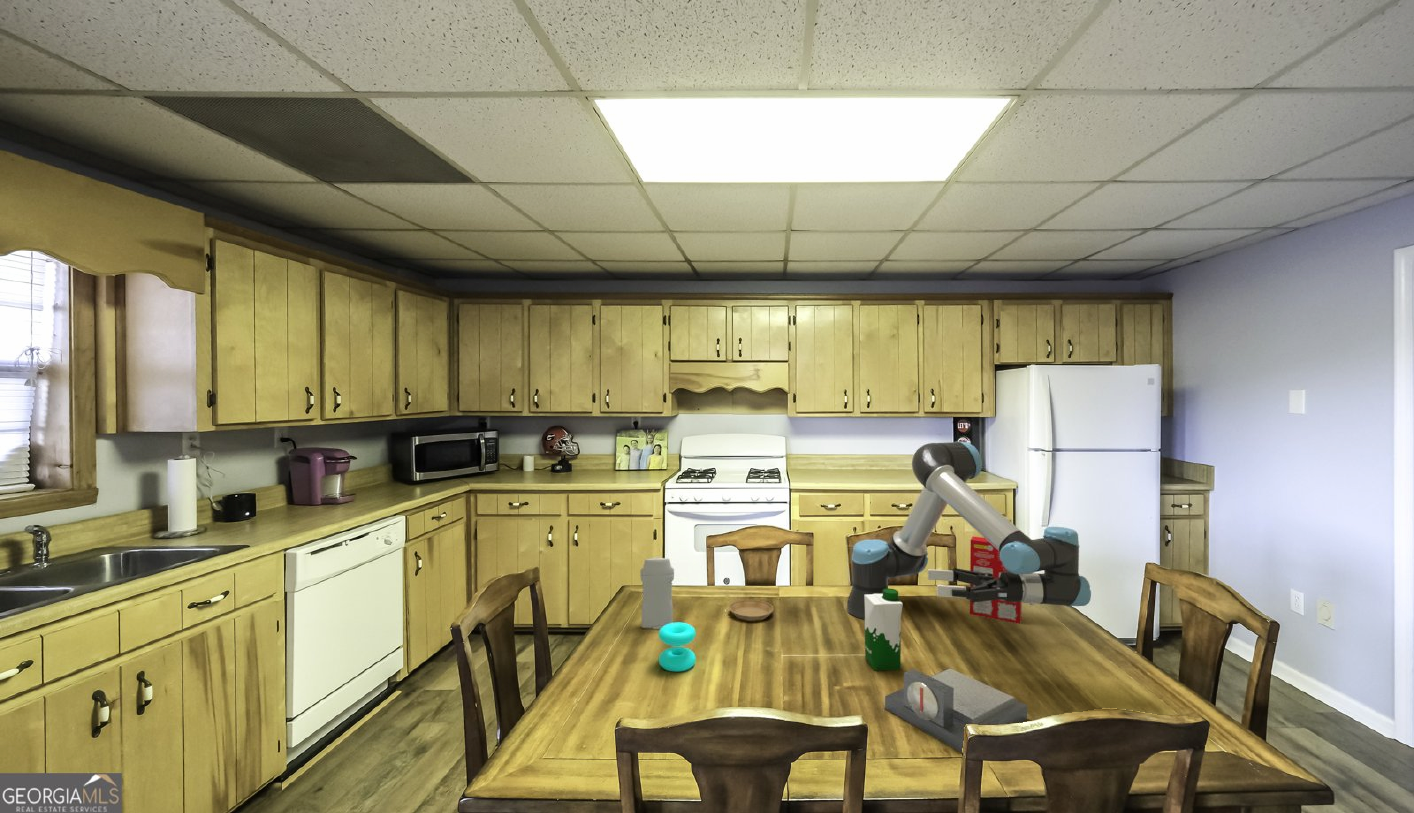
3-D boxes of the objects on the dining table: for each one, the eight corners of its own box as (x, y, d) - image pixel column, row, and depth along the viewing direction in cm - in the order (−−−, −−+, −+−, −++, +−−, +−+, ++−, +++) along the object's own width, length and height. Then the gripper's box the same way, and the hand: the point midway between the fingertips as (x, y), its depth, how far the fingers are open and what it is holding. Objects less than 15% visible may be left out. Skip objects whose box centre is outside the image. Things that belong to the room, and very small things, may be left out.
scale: (883, 709, 131) (883, 664, 130) (947, 680, 144) (948, 639, 144) (963, 755, 114) (963, 704, 114) (1027, 718, 127) (1027, 672, 127)
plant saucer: (749, 603, 198) (749, 596, 198) (782, 615, 187) (782, 607, 187) (719, 615, 188) (719, 607, 187) (753, 628, 177) (753, 619, 177)
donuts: (652, 632, 149) (667, 618, 159) (652, 670, 150) (667, 653, 159) (687, 638, 146) (700, 623, 155) (687, 676, 146) (700, 659, 156)
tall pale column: (673, 623, 180) (673, 555, 179) (674, 628, 176) (674, 558, 175) (640, 624, 179) (640, 556, 179) (640, 630, 175) (640, 559, 174)
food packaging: (1021, 618, 184) (1022, 542, 184) (1020, 623, 180) (1021, 546, 179) (972, 609, 192) (972, 536, 191) (969, 614, 188) (970, 539, 187)
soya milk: (905, 671, 149) (906, 596, 148) (872, 672, 148) (872, 597, 148) (891, 655, 158) (892, 585, 157) (860, 657, 157) (860, 586, 156)
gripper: (1037, 620, 133) (941, 613, 138) (1004, 586, 158) (924, 581, 162) (1037, 588, 133) (941, 583, 138) (1004, 559, 158) (924, 555, 162)
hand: (932, 582), depth 150 cm, fingers open, 13 cm apart
